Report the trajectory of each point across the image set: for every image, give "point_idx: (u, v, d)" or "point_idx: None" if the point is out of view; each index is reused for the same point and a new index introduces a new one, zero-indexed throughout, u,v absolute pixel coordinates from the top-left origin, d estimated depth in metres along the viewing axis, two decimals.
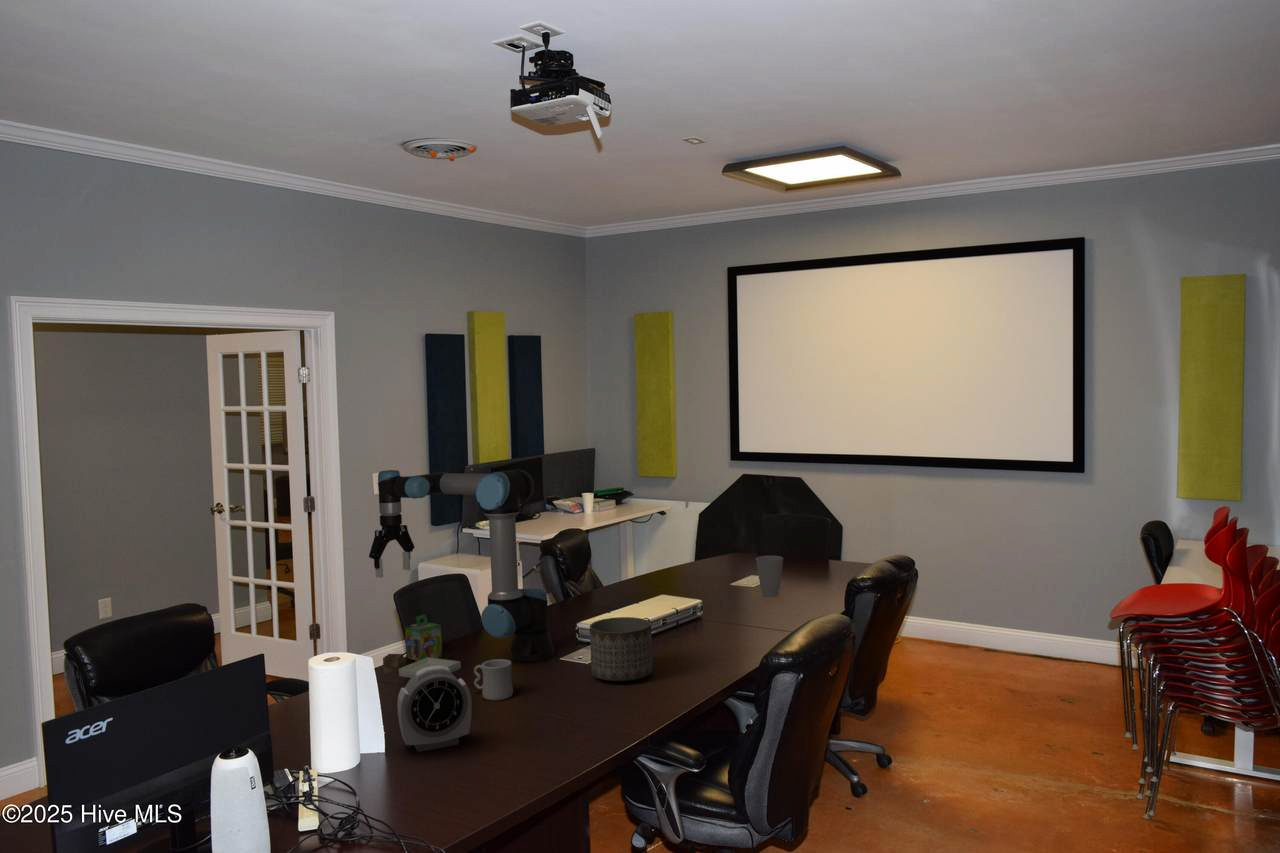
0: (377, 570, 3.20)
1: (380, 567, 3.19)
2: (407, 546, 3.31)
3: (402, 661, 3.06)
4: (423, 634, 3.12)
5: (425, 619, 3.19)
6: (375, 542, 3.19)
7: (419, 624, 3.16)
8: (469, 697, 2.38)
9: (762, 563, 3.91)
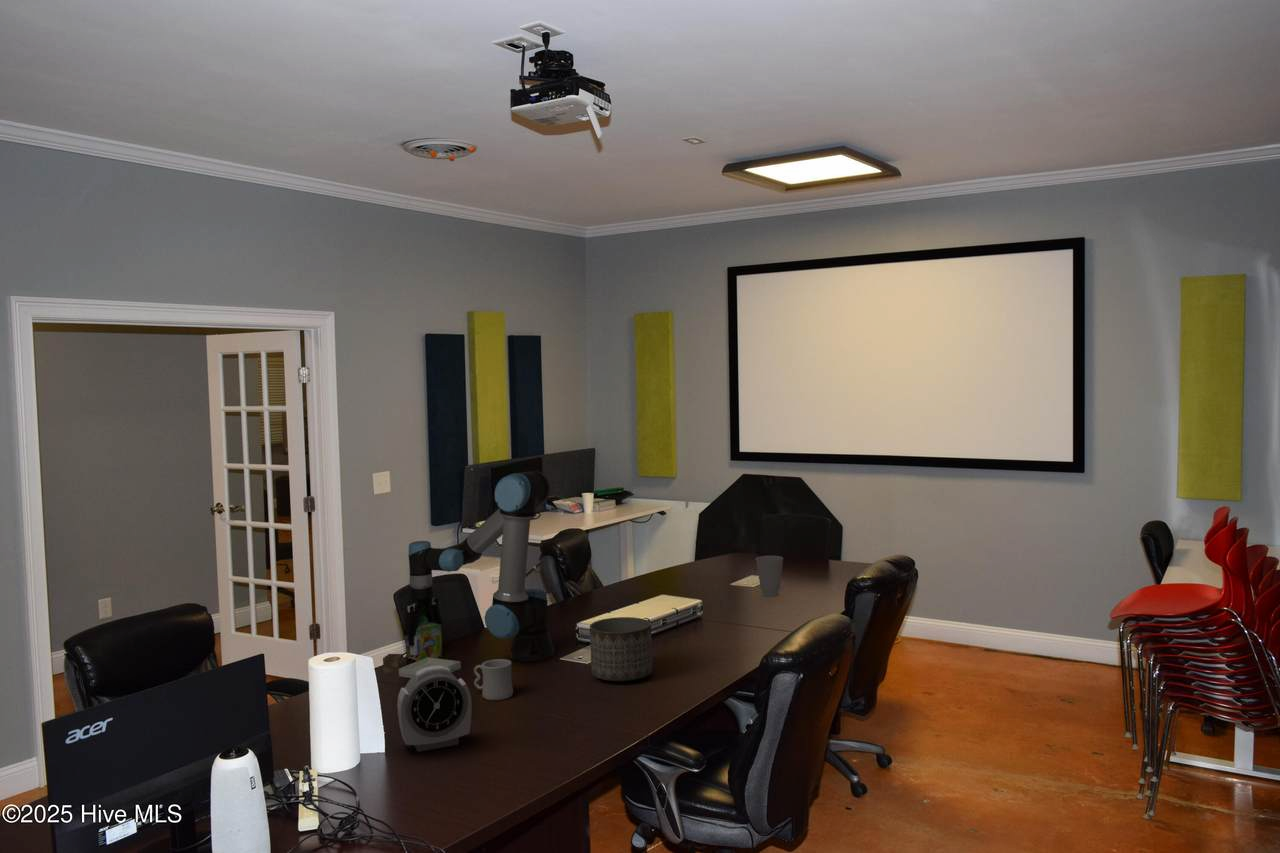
0: (411, 647, 3.13)
1: (415, 644, 3.12)
2: (435, 622, 3.21)
3: (402, 661, 3.06)
4: (423, 634, 3.12)
5: (425, 619, 3.19)
6: (408, 619, 3.11)
7: (419, 624, 3.16)
8: (469, 697, 2.38)
9: (762, 563, 3.91)
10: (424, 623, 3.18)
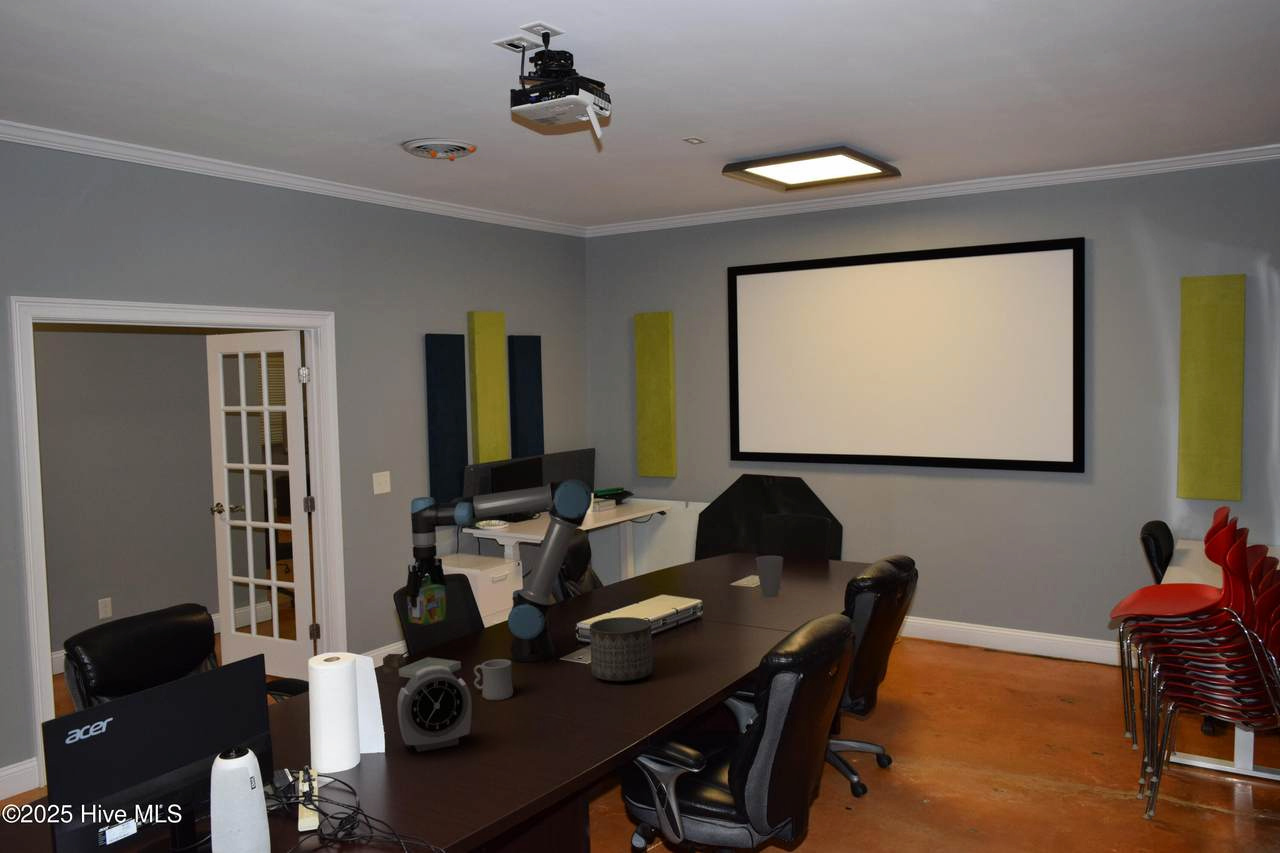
0: (414, 609, 2.96)
1: (417, 606, 2.95)
2: (439, 583, 3.04)
3: (402, 661, 3.06)
4: (427, 595, 2.95)
5: (428, 580, 3.02)
6: (410, 579, 2.94)
7: (422, 585, 2.99)
8: (469, 697, 2.38)
9: (762, 563, 3.91)
10: (427, 584, 3.01)
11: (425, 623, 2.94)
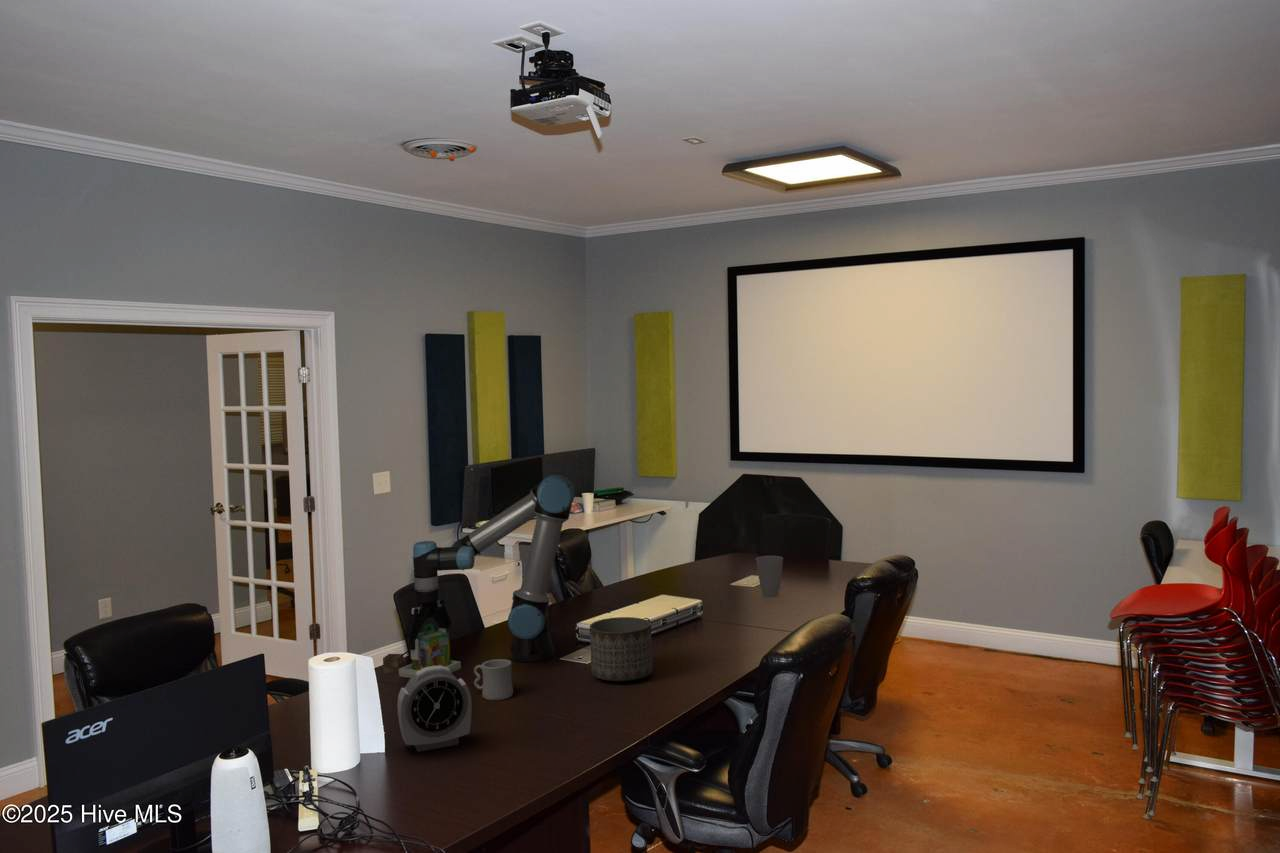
0: (412, 651, 2.95)
1: (416, 648, 2.94)
2: (444, 622, 3.06)
3: (402, 661, 3.06)
4: (431, 643, 2.96)
5: (432, 627, 3.03)
6: (410, 621, 2.93)
7: (426, 633, 3.00)
8: (469, 697, 2.38)
9: (762, 563, 3.91)
10: (431, 632, 3.02)
11: None
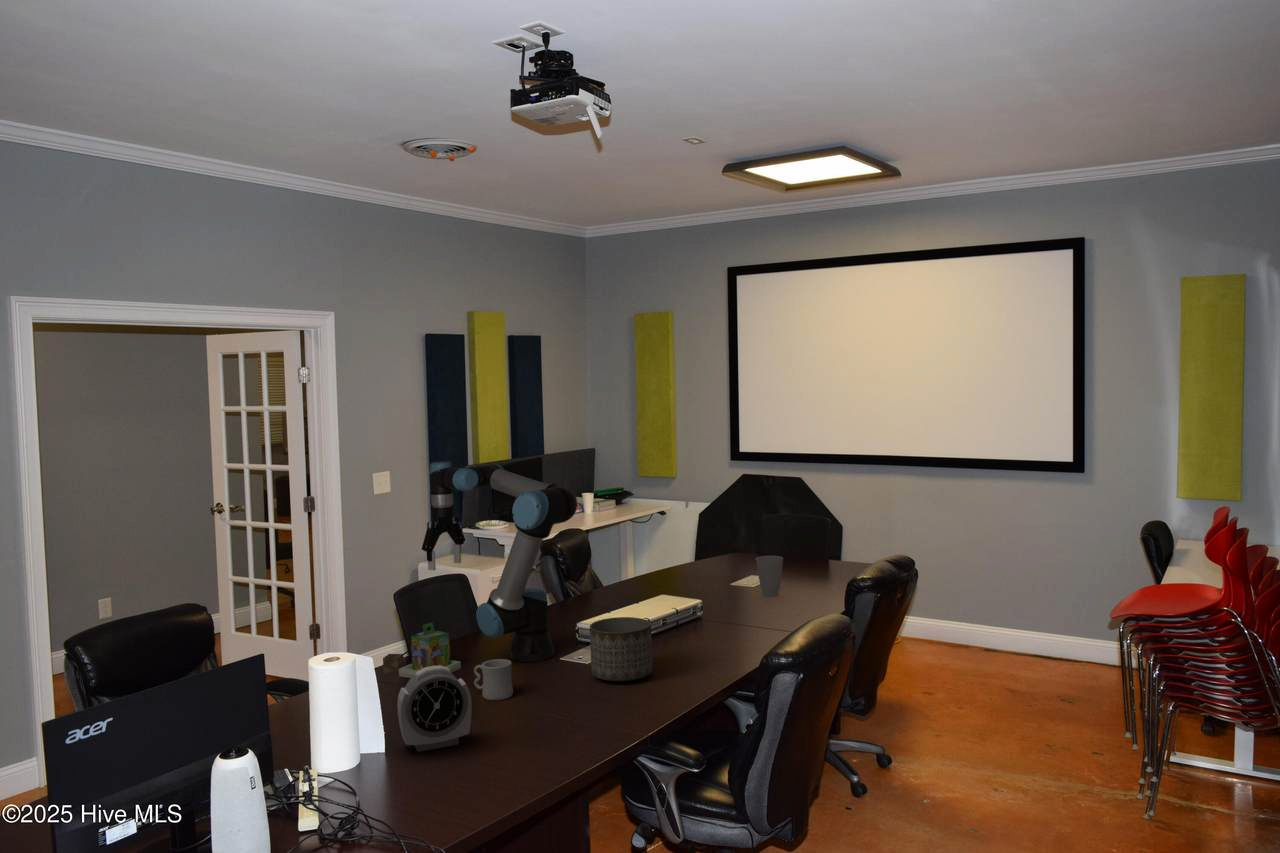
0: (429, 563, 3.16)
1: (433, 560, 3.15)
2: (458, 539, 3.27)
3: (402, 661, 3.06)
4: (431, 643, 2.96)
5: (432, 627, 3.03)
6: (428, 534, 3.14)
7: (426, 633, 3.00)
8: (469, 697, 2.38)
9: (762, 563, 3.91)
10: (431, 632, 3.02)
11: None
